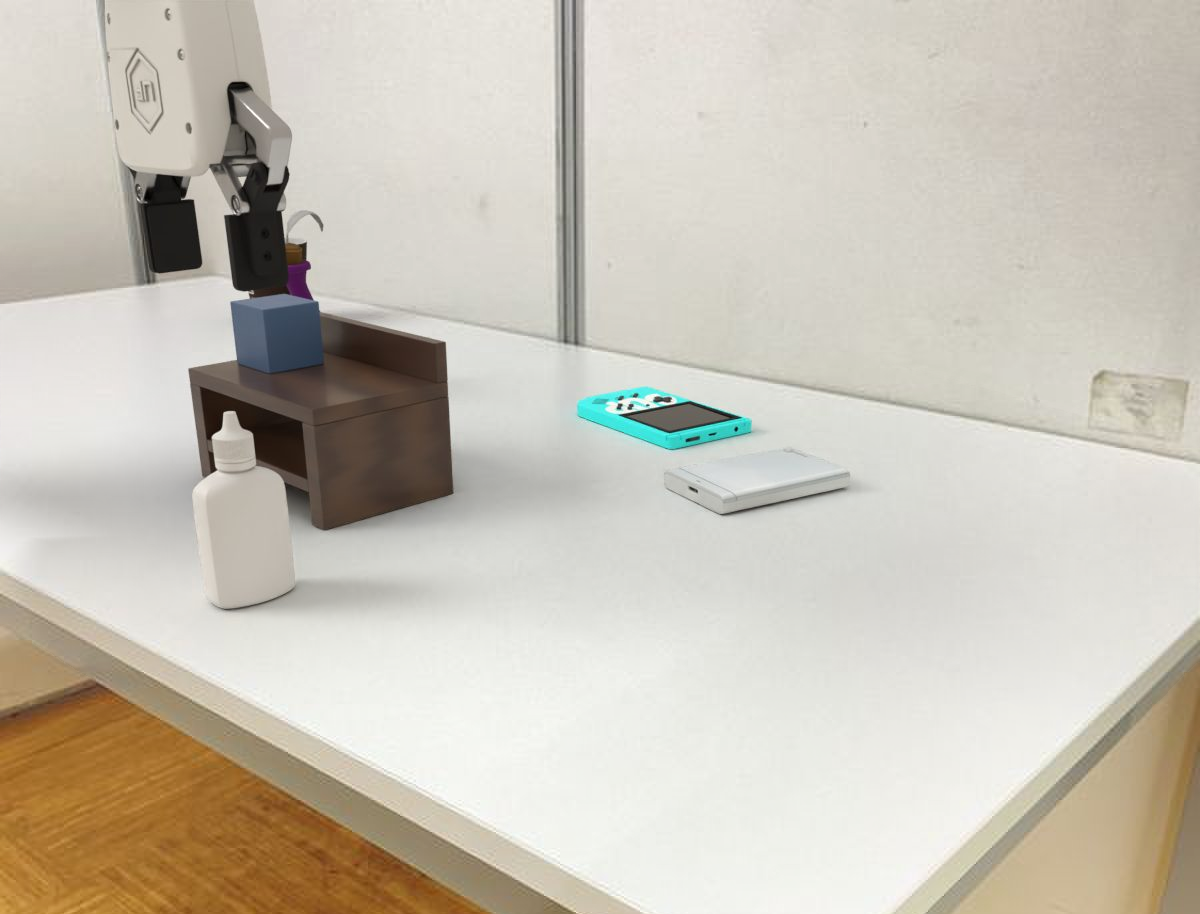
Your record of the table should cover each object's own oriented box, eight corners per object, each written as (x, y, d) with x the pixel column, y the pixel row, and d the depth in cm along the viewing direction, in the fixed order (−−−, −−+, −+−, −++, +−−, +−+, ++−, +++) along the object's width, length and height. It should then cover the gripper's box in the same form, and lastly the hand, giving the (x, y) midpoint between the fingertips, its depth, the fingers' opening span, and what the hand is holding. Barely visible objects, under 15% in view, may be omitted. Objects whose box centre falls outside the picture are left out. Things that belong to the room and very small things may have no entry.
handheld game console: (647, 396, 127) (648, 383, 127) (755, 431, 115) (756, 417, 115) (566, 412, 122) (566, 398, 121) (671, 450, 110) (671, 435, 109)
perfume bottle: (295, 406, 124) (276, 217, 117) (268, 391, 129) (248, 209, 122) (365, 396, 127) (351, 211, 120) (336, 381, 133) (321, 204, 126)
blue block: (269, 374, 98) (262, 309, 96) (236, 364, 101) (229, 301, 99) (324, 364, 101) (319, 301, 99) (291, 354, 104) (285, 293, 102)
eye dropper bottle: (207, 586, 82) (182, 406, 77) (295, 578, 83) (276, 400, 78) (205, 613, 78) (178, 425, 73) (297, 604, 79) (277, 418, 74)
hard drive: (786, 444, 106) (663, 467, 100) (851, 469, 99) (724, 495, 93) (785, 463, 106) (662, 487, 101) (849, 489, 100) (723, 516, 94)
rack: (324, 530, 91) (308, 367, 87) (202, 476, 103) (182, 330, 98) (453, 493, 99) (446, 341, 94) (326, 447, 111) (313, 310, 106)
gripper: (35, -47, 69) (89, 271, 76) (187, -72, 58) (235, 305, 64) (162, -41, 74) (203, 258, 81) (327, -63, 62) (357, 287, 69)
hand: (217, 278), depth 72 cm, fingers open, 9 cm apart
